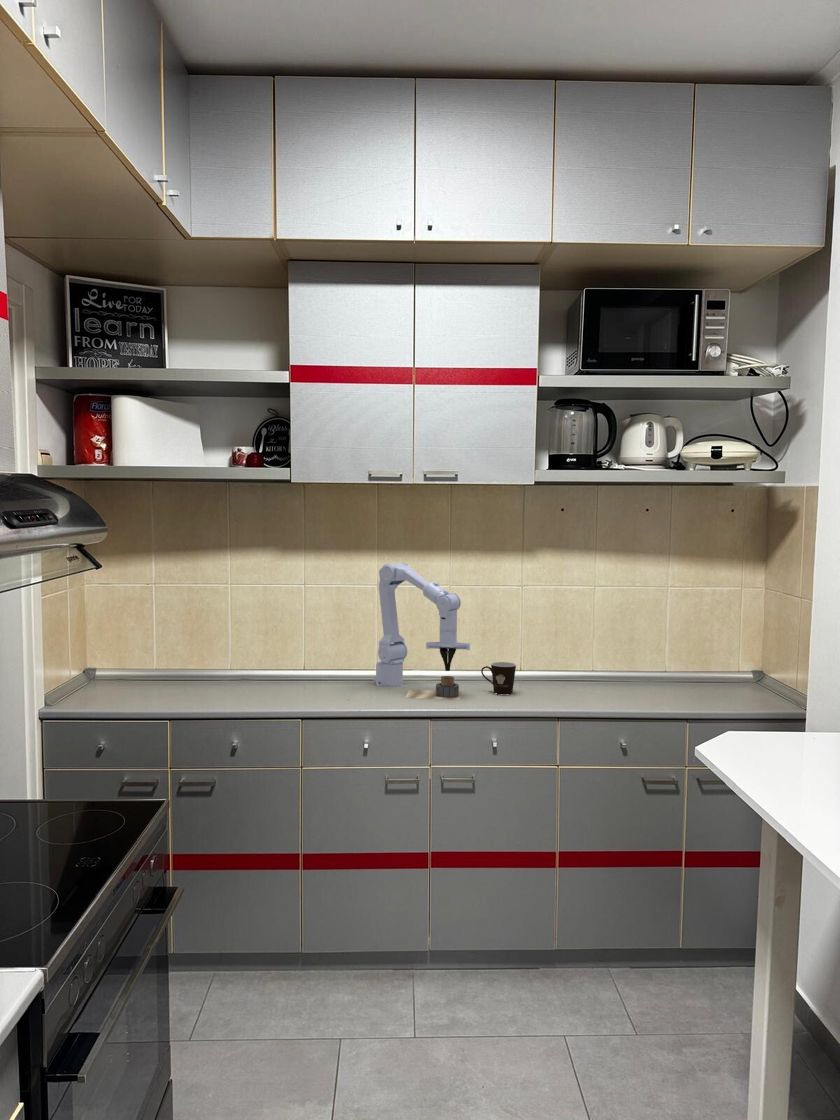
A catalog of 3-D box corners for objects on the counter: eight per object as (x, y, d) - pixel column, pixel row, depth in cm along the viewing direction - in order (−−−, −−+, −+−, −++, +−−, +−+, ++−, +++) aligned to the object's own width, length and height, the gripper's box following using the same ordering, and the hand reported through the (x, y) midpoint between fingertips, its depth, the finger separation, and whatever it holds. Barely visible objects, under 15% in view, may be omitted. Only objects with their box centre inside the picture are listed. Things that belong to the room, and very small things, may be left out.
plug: (440, 696, 270) (440, 678, 270) (441, 693, 275) (441, 675, 275) (453, 696, 270) (453, 678, 270) (454, 693, 274) (454, 676, 274)
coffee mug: (520, 693, 281) (521, 664, 280) (504, 697, 275) (504, 667, 274) (495, 687, 289) (496, 659, 289) (479, 691, 284) (479, 662, 283)
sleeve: (435, 697, 269) (435, 686, 269) (437, 692, 277) (437, 681, 276) (457, 698, 268) (458, 687, 268) (459, 692, 276) (459, 682, 276)
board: (405, 700, 268) (405, 697, 268) (409, 692, 280) (409, 689, 280) (459, 702, 266) (459, 699, 266) (461, 694, 278) (461, 691, 278)
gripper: (425, 631, 268) (424, 672, 269) (469, 632, 266) (468, 673, 267) (427, 628, 275) (427, 667, 276) (470, 629, 273) (469, 669, 274)
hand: (447, 670), depth 272 cm, fingers closed
